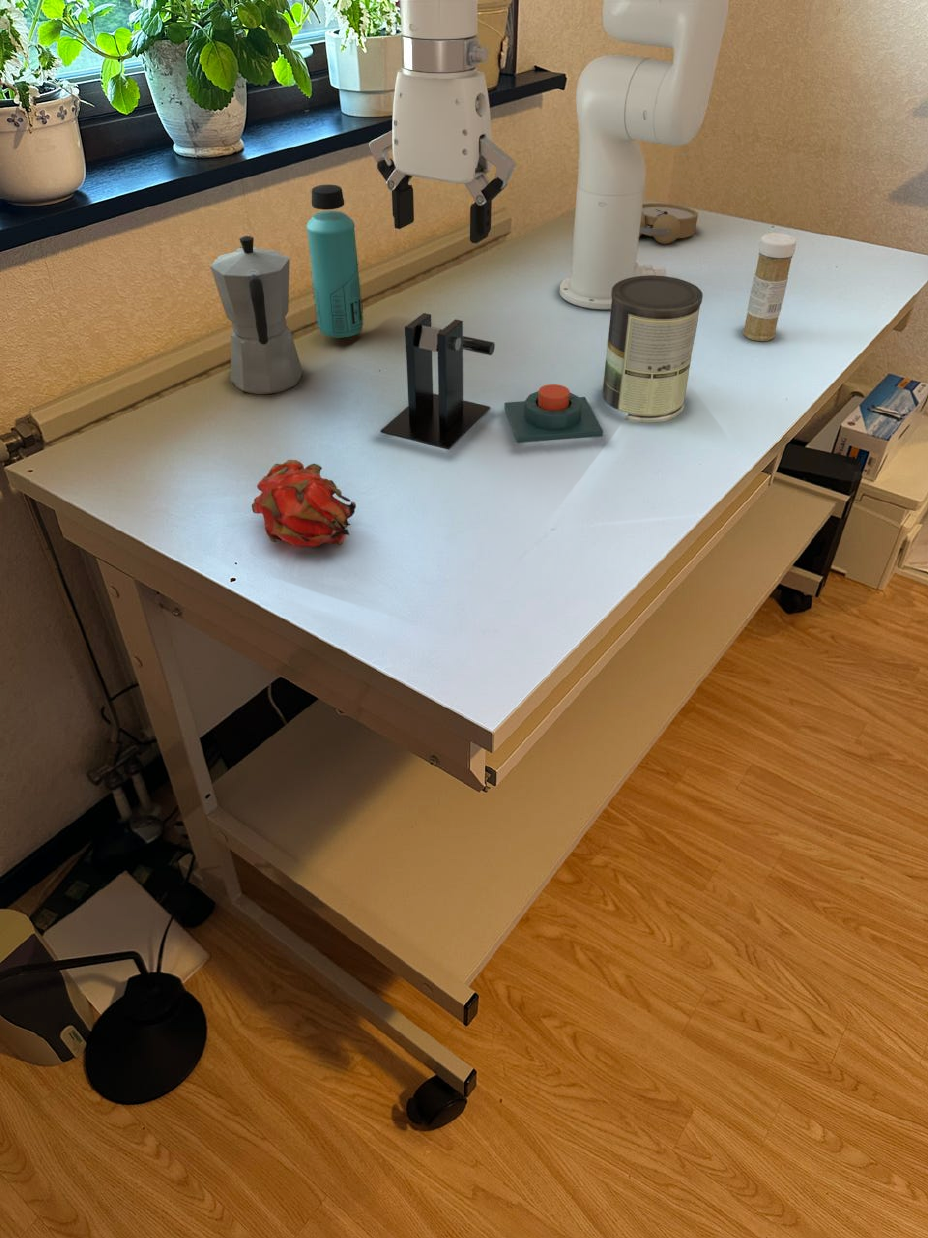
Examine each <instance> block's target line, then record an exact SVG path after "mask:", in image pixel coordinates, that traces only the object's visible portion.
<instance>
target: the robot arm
mask: <svg viewBox="0 0 928 1238" xmlns="http://www.w3.org/2000/svg"><path fill="white" fill-rule="evenodd" d="M399 1H400V29H401V32H400V33H401V36H400V37H401V63H402V64H401V65H402V67H401V68H399V69H398V70H397V74H396V79H395V86H394V93H393V104H392V123H391V125H392V129H391V130H389V131H388V132H386V133H384V134H382V135H381V136H379V137H377V138H375V139H373V140H371V141H370V142H369V145H368V146H369V149H370V152H371V154H372V156H373V159H374V161H375V162H376V169H377V171H378V172H379V174H380V175H381V176H382V177H383V179H384V181H385V182H386V188H387V189H388V190H389V191H391V206H392V207H391V208H392V217H393V221H394V222H393V223H394V229H398V230H402V229H404V228H405V227H407V226H409V225H411V224H413V223H414V221H415V208H414V207H415V205H414V204H415V202H414V201H415V200H414V188H413V185H412V184H409V182H410V181H411V179H413V177H417V178H422V179H427V180H434V181H440V182H446V183H451V184H452V183H454V184H462V185H463V184H464V187H466V189H467V191H468V193H469V194H470V196H471V197H472V199H473V201H474V203H472V204H471V205H470V207H469V241H470V243H471V244H479V243H480V242H482V241H483V240H485V239H487V238H488V236H489V234H490V232H491V229H492V211H493V210H492V206H493V205H492V204H493V200H495V199H496V198H497V196H498V195H499V194H500V193H501V192H502V191H503V190H504V189H505V188H506V187H507V186H508V181H509V180H510V178H511V176H512V174H513V172H514V170H515V168H516V166H517V165H516V161H515V159H514V158H512V157H511V156H510V155H508V154H507V152H505V151H504V150H502V149H501V147H499V146H498V145H496V144H495V143H494V142H493V137H492V134H493V133H492V119H491V117H492V116H491V106H490V97H489V92H488V91H489V90H488V85H487V79H486V75H485V71H479V70H478V67H479V64H480V63H483V64H484V63H487V61H488V59H489V49H488V47H487V46H482V45H481V44H480V41H479V40H480V37H479V36H478V8H479V7H478V5H479V4H478V3H479V2H478V0H399ZM729 5H730V0H603V5H602V14H601V15H602V16H601V17H602V18H601V19H602V25H603V28H604V30H605V33H606V34H607V35H608V36H609V37H610V38H611V39H613V40H615V41H618V42H622V43H625V44H633V45H640V46H649V47H658V48H665V49H673V59H672V60H665V59H657V58H651V57H644V56H636V55H629V54H607V55H601V56H598V57H596V58H594V59H593V60H591V61H589V63H588V64H586V66H585V67H584V68H583V70H582V71H581V73H580V76H579V78H578V81H577V85H576V92H575V93H576V94H575V107H576V117H577V125H578V126H577V127H578V145H579V146H578V148H579V149H578V170H577V171H578V172H577V184H576V185H577V186H576V197H575V198H576V200H575V213H574V227H573V241H572V252H571V254H572V255H571V269H570V276H568V277H566V278H564V279H563V280H562V281H561V282H560V284H559V295H560V297H561V298H562V299H564V301H566V302H567V303H569V304H572V305H575V306H578V307H581V308H586V309H592V310H611V303H612V297H611V292H612V288H613V286H614V285H615V284H616V283H618V282H619V281H622V280H624V279H627V278H631V277H637V276H648V275H655V276H667V270H666V268H654V267H653V265H652V264H645V265H640V264H638V263H637V255H638V247H639V239H640V237H639V231H640V222H641V214H642V205H643V204H644V197H645V196H644V195H645V188H646V181H647V168H646V161H645V158H644V154H643V152H642V149H641V147H640V144H639V142H644V143H649V144H656V145H663V146H670V147H671V146H672V147H679V146H680V147H681V146H685V145H687V144H689V143H690V142H692V141H693V140H694V139H695V138H696V137H697V135H698V133H699V131H700V130H701V127H702V125H703V123H704V119H705V116H706V114H707V113H706V112H707V109H708V104H709V101H710V96H711V91H712V88H713V87H712V86H713V84H714V83H713V82H714V77H715V74H716V69H717V64H718V61H719V56H720V51H721V48H722V42H723V39H724V38H723V37H724V33H725V29H726V24H727V18H728V12H729ZM390 147H392V158H391V157H390V153H389V148H390ZM492 165H493V166H494V167H495V169H496V170H495V174H494V176H493V179H492V180H490V178H489V177H488V175H487V174H489V173H490V172H491V170H492Z"/></svg>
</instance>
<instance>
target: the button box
mask: <svg viewBox="0 0 928 1238" xmlns="http://www.w3.org/2000/svg"><path fill="white" fill-rule="evenodd" d="M538 393H539V390H537V391H535V392H532V393H530V394H528V395H527V397H526V398H525V400H523V401H509V402H504V405H503V406H504V407H503V408H504V411H505V414H506V416H507V419H508V421H509V425H510V427H511V430H512V432H513V435H514V437H515V440H516V442H517V444H519V443H520V444H521V443H532V442H545V441H546V442H547V441H559V440H569V439H570V440H571V439H584V438H595V437H603V433H604V430H603V428H602V426H601V425H600V424H601V423H599V421H598V419H597V417H596V415H595V412H594V411H593V409H592V407H591V406H590V403H589V402H588V401H587V398H586V396H579V395H576V394H574V393H572V392H570V396H569V406H568V408H567V409H564V410H561V411H549V410H543V409H542V408H540V407H539V406H538Z"/></svg>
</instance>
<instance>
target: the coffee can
mask: <svg viewBox="0 0 928 1238" xmlns="http://www.w3.org/2000/svg"><path fill="white" fill-rule="evenodd" d="M611 297H612V303H611V309H610V313H609V314H610V315H609V324H608V335H607V343H606V344H607V347H606V354H605V355H606V356H605V364H604V365H605V366H604V375H603V384H602V398H603V400H604V402H605V403H606V404H607V405H609V406H610V407H612V408H613V409H615V410H617V411H620V412H622V413H626V414H627V415H626V417H625V418H624V420H626V421H628V422H629V421H630V422H636V423H660V422H665V421H669V420H672V419H674V418H676V417H678V416H679V415H680V414H681V413H682V412H683V411H684V409H685V401H686V400H685V399H686V393H687V387H688V382H689V375H690V369H691V364H692V363H691V362H692V355H693V351H694V345H695V338H696V332H697V328H698V327H697V325H698V320H699V314H700V307H701V305H702V302H703V297H704V295H703V292H702V290H701V289H700V288H699V287H698V286H697V285H695V284H693V283H692V282H689V281H687V280H685V279H682V278H677V277H673V276H667V275H666V276H655V275H648V276H637V277H631V278H627V279H624V280H622V281H619V282H618V283H616V284H615V285H614V286H613V288H612V292H611Z"/></svg>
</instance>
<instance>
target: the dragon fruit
mask: <svg viewBox="0 0 928 1238" xmlns="http://www.w3.org/2000/svg"><path fill="white" fill-rule="evenodd" d="M322 469H323V467H322V466H321V465H320V464H317V463H311V464H309V465H306V467H304V464H303V463H302V462H301V461H300V460H296V459H288V460H286V461H285V462H284V463H275V464H273V465H272V467H271V468H270V470H269V472H268V473H267V474H266V475H264V476H263V477H262V478H261V479H260V480H259V482H258V483H257V485H256V488H257V490H258V491H260V494H259V495H258V496H257V497H255V498H254V499H253V503H252V504H251V509H252V512H253V513H254V514H261V515H262V517H263V520H264V530H265V533H266V535H267V536H268V538H269V540H270V541H272V542H281V540H282V541H283V542H286V543H288V544H290V545H292V546H293V547H296V546H299V547H313V548H315V547H319V546H321V545H322V544H324V543H326V544H333V545H334V544H337V545H342V544H343V542H344V541H345V538H346V537H347V536H350V532H349V530H348V529H347V528H348V527H349V526H351V525H352V523H349V521H348V519H350V518H351V517H353V515H354V514H355V512H356V511H355V509H356V508H357V503H356V502H355V501H351V499H349V498H347V497H346V496H343V495H342V494H343V493H342V490H341V489H339V488H338V487H337V485H336V484H335V482H334V480H332V479H328V478H324V477H323V478H322V477H321V470H322ZM333 495H336V496H337V497H338V498H340V499H341V500H343V501H345V502H349V503H350V504H348V503H345V502H343V501H340V499H338V498H336V497H335V496H333Z"/></svg>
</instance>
